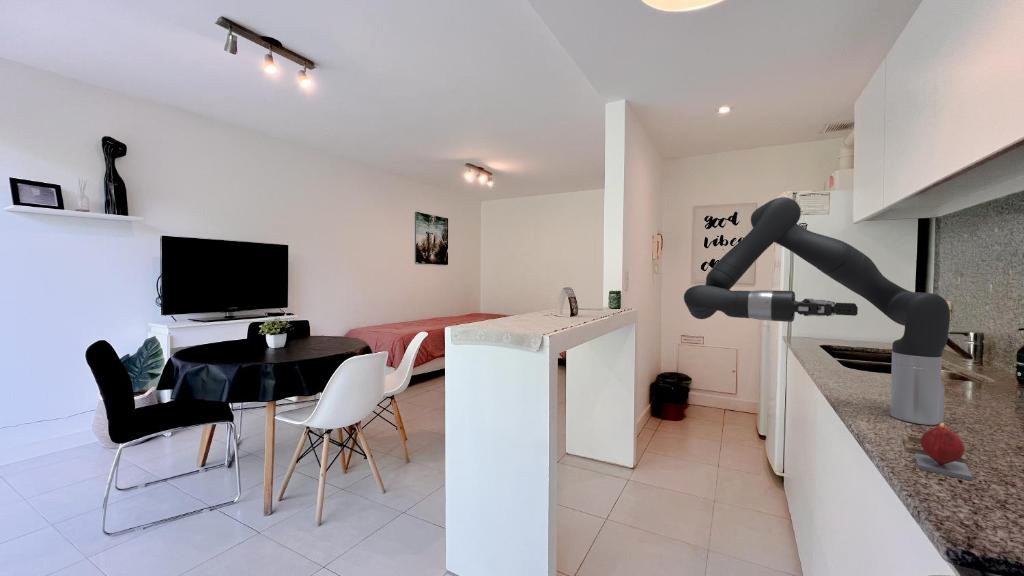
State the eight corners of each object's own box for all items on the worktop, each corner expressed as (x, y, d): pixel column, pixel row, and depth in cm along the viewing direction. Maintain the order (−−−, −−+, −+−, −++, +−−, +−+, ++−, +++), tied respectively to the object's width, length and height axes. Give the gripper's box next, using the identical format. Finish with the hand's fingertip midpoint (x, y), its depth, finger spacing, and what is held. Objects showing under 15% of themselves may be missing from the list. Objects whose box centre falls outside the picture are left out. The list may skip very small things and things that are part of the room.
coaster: (914, 456, 84) (915, 453, 84) (965, 467, 79) (965, 463, 79) (918, 469, 79) (918, 464, 79) (972, 481, 74) (972, 476, 74)
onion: (968, 474, 75) (970, 431, 75) (925, 466, 78) (927, 425, 78) (956, 462, 80) (958, 422, 80) (916, 455, 83) (917, 416, 83)
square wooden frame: (902, 439, 93) (902, 434, 93) (959, 449, 88) (959, 445, 87) (906, 451, 87) (906, 446, 87) (967, 464, 81) (967, 459, 81)
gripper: (767, 291, 95) (859, 293, 85) (774, 289, 106) (856, 291, 96) (766, 323, 95) (857, 329, 85) (774, 318, 106) (855, 323, 96)
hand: (856, 309), depth 90 cm, fingers open, 8 cm apart
